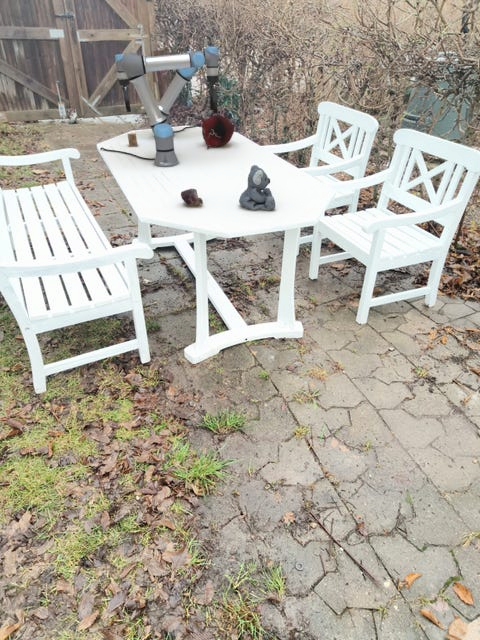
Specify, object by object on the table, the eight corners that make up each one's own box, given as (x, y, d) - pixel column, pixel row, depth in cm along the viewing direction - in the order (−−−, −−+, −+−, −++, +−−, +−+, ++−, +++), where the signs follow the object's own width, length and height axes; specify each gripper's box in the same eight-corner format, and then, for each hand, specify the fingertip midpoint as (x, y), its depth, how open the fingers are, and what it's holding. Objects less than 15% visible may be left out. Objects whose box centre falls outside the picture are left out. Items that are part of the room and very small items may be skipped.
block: (129, 146, 333) (127, 135, 328) (129, 145, 337) (127, 133, 332) (137, 146, 333) (135, 134, 329) (137, 144, 337) (135, 133, 333)
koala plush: (276, 211, 223) (277, 171, 212) (240, 212, 222) (240, 172, 211) (271, 199, 237) (272, 161, 226) (237, 200, 236) (237, 162, 225)
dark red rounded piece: (199, 121, 337) (198, 117, 314) (230, 114, 337) (230, 110, 313) (206, 150, 344) (205, 149, 321) (236, 143, 343) (237, 142, 320)
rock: (196, 202, 238) (178, 205, 233) (194, 185, 234) (176, 188, 230) (205, 205, 228) (187, 208, 224) (203, 188, 224) (185, 191, 220)
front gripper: (221, 77, 273) (222, 115, 285) (215, 72, 294) (216, 108, 306) (209, 77, 272) (210, 115, 284) (204, 73, 292) (205, 108, 305)
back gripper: (129, 80, 319) (134, 112, 331) (127, 76, 339) (132, 107, 351) (119, 81, 318) (124, 113, 330) (117, 77, 338) (122, 108, 350)
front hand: (213, 111), depth 295 cm, fingers open, 13 cm apart
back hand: (128, 110), depth 341 cm, fingers open, 13 cm apart
